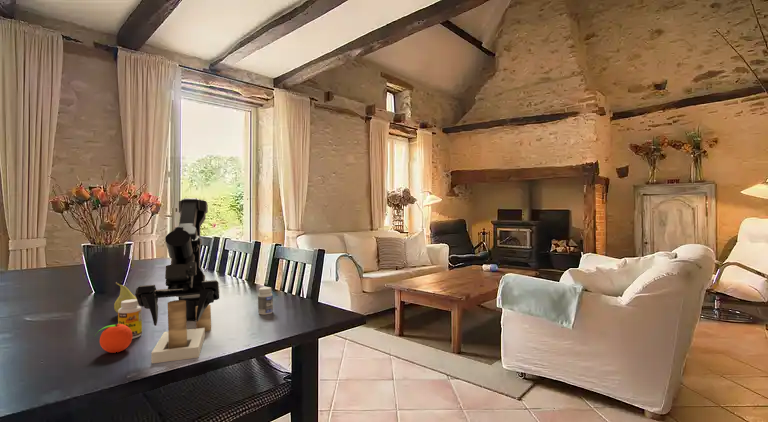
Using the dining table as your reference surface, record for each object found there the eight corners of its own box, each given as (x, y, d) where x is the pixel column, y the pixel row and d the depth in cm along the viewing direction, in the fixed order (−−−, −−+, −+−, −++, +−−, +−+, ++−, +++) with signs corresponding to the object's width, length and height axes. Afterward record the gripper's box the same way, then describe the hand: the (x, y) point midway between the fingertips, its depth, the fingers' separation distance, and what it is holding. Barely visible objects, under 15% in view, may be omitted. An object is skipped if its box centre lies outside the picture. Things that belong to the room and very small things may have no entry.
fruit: (143, 312, 137) (141, 277, 137) (126, 318, 130) (125, 282, 129) (124, 312, 138) (123, 277, 138) (107, 318, 130) (106, 282, 130)
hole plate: (164, 341, 108) (164, 331, 108) (204, 336, 111) (204, 327, 111) (151, 363, 93) (151, 352, 93) (198, 357, 96) (198, 347, 96)
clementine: (91, 359, 96) (90, 330, 96) (98, 350, 102) (97, 322, 102) (130, 354, 99) (129, 325, 99) (135, 345, 105) (134, 318, 105)
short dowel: (193, 331, 116) (192, 307, 116) (202, 327, 120) (202, 304, 119) (204, 332, 115) (204, 308, 114) (214, 328, 118) (213, 304, 118)
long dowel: (166, 354, 98) (164, 302, 98) (183, 350, 101) (181, 299, 101) (173, 358, 96) (171, 304, 95) (190, 353, 99) (188, 301, 98)
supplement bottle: (115, 341, 108) (113, 303, 108) (123, 334, 114) (122, 299, 114) (137, 339, 110) (136, 302, 109) (145, 333, 115) (144, 297, 115)
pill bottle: (268, 315, 131) (268, 289, 131) (255, 314, 132) (255, 289, 132) (275, 311, 136) (274, 286, 136) (262, 310, 137) (262, 286, 137)
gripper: (135, 253, 99) (124, 309, 88) (217, 249, 105) (215, 301, 95) (144, 279, 106) (134, 333, 96) (220, 274, 112) (218, 324, 102)
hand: (176, 322), depth 97 cm, fingers open, 9 cm apart
